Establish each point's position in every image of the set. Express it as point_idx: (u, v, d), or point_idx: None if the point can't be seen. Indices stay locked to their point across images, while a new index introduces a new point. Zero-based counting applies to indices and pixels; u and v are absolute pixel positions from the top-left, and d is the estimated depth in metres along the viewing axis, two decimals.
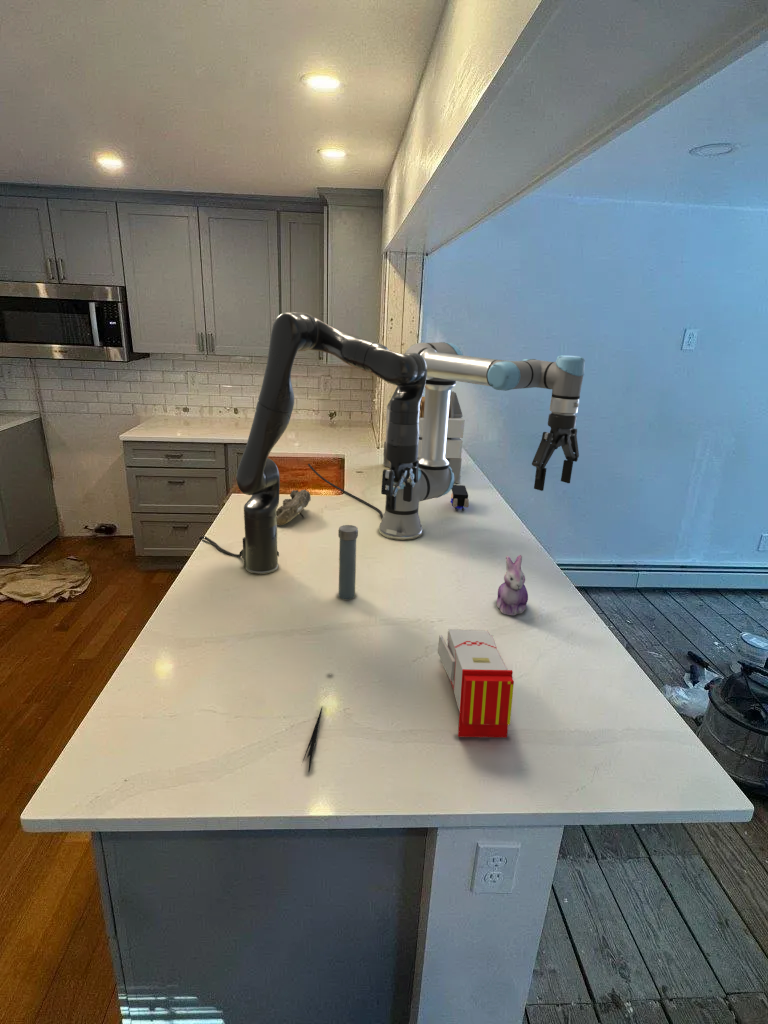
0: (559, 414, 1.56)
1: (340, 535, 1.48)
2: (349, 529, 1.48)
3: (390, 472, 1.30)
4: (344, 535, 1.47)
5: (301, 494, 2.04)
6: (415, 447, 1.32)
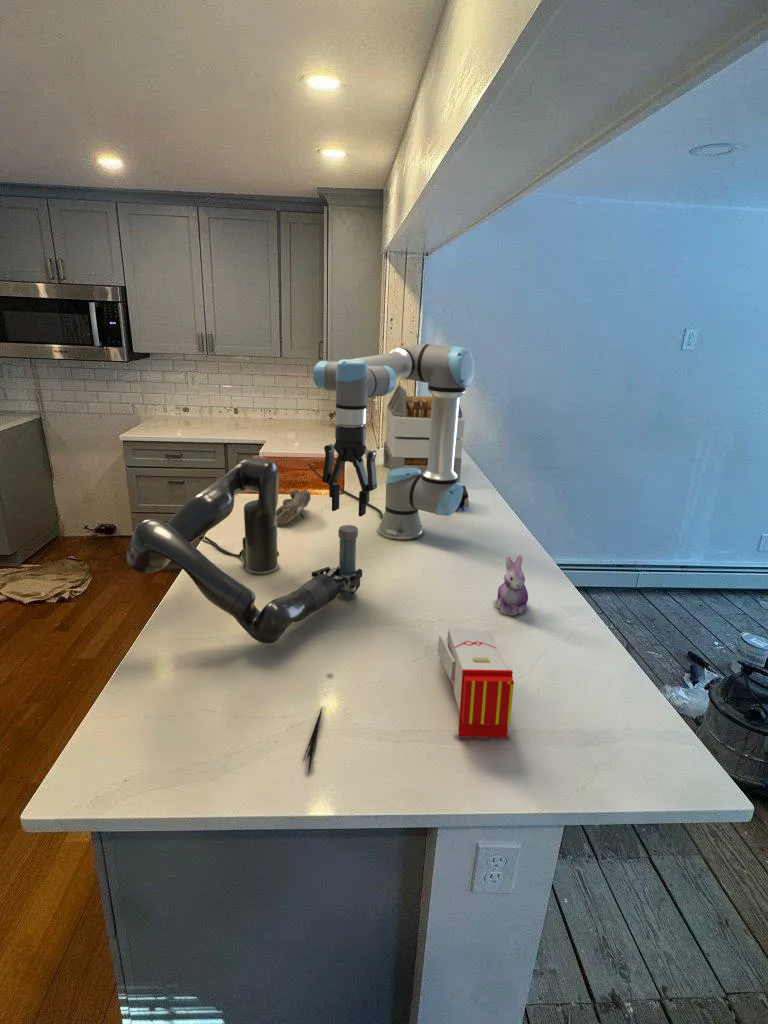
0: (363, 425, 1.39)
1: (340, 535, 1.48)
2: (349, 529, 1.48)
3: (354, 587, 1.44)
4: (344, 535, 1.47)
5: (301, 494, 2.04)
6: (319, 579, 1.41)
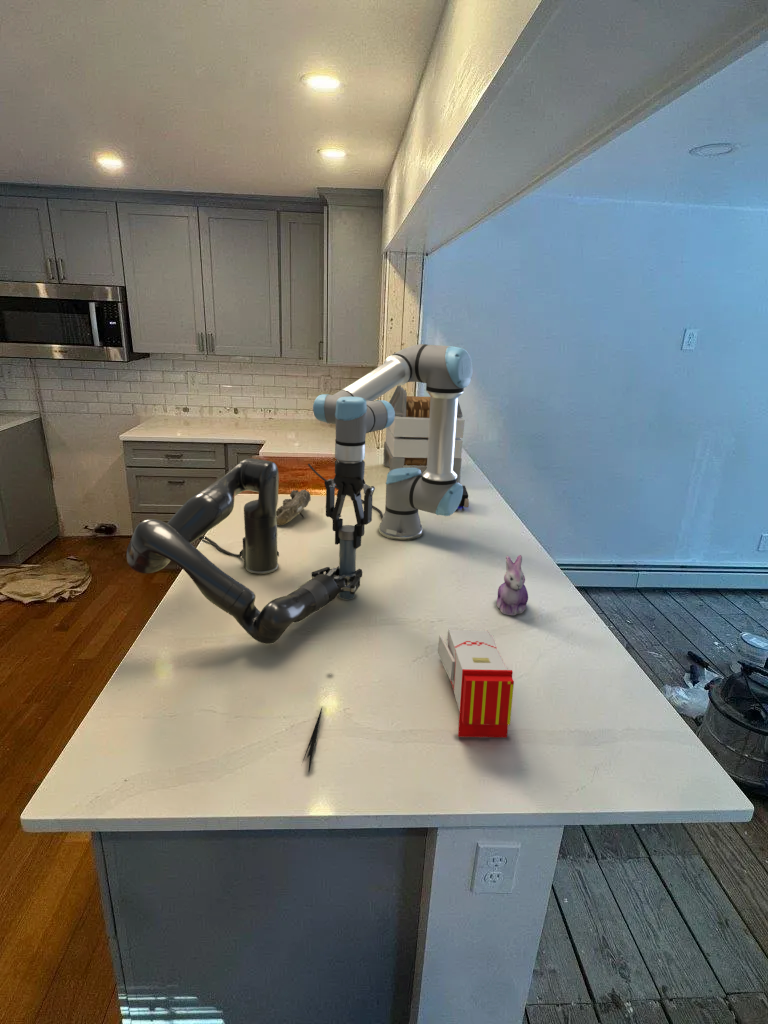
0: (362, 460, 1.42)
1: (340, 535, 1.48)
2: (349, 529, 1.48)
3: (354, 587, 1.44)
4: (344, 535, 1.47)
5: (301, 494, 2.04)
6: (319, 580, 1.41)
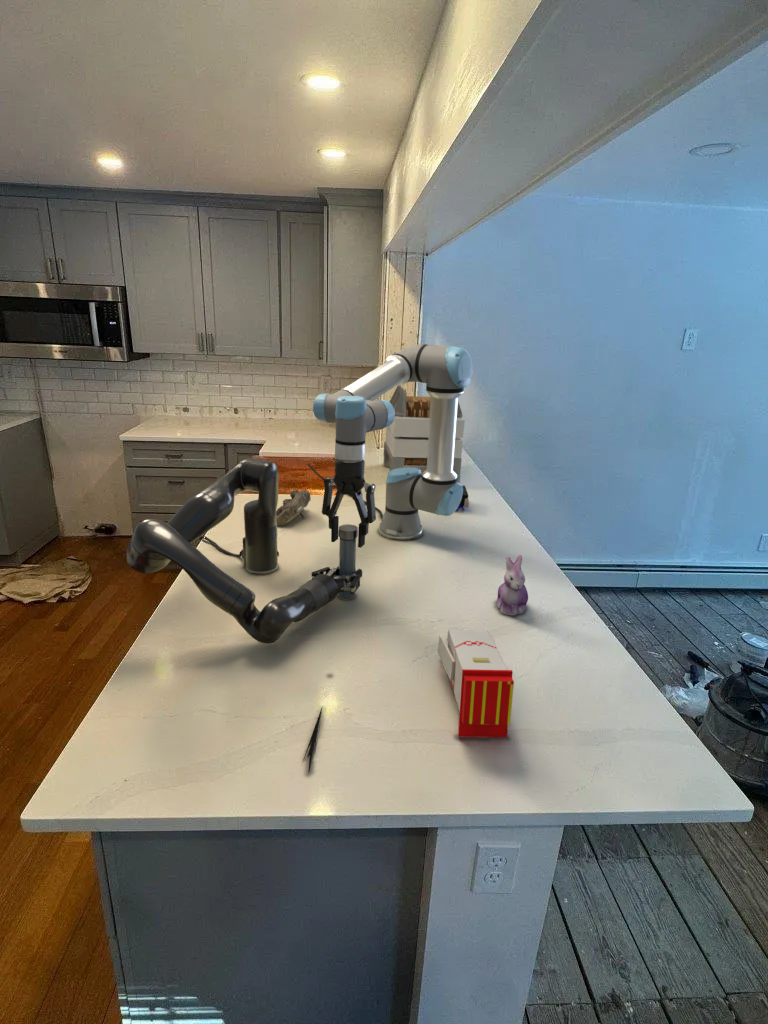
0: (362, 460, 1.42)
1: (351, 536, 1.47)
2: (351, 527, 1.49)
3: (353, 587, 1.44)
4: (355, 534, 1.48)
5: (301, 494, 2.04)
6: (319, 580, 1.41)
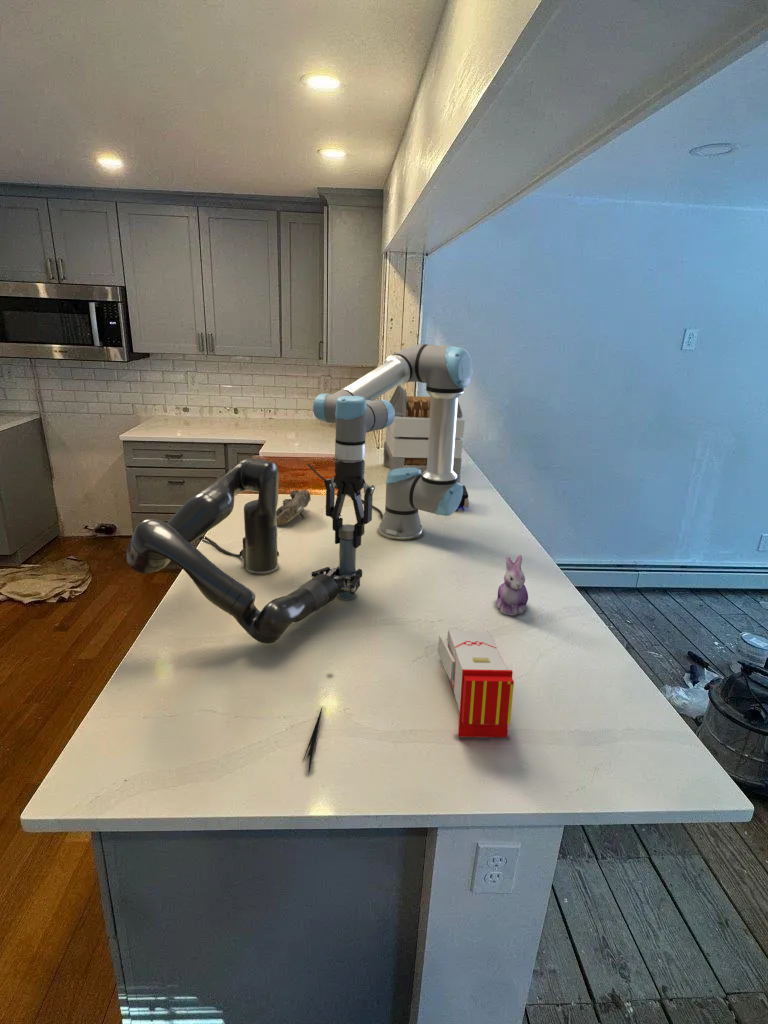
0: (362, 460, 1.42)
1: (351, 536, 1.47)
2: (351, 527, 1.49)
3: (353, 587, 1.44)
4: None
5: (301, 494, 2.04)
6: (319, 580, 1.41)
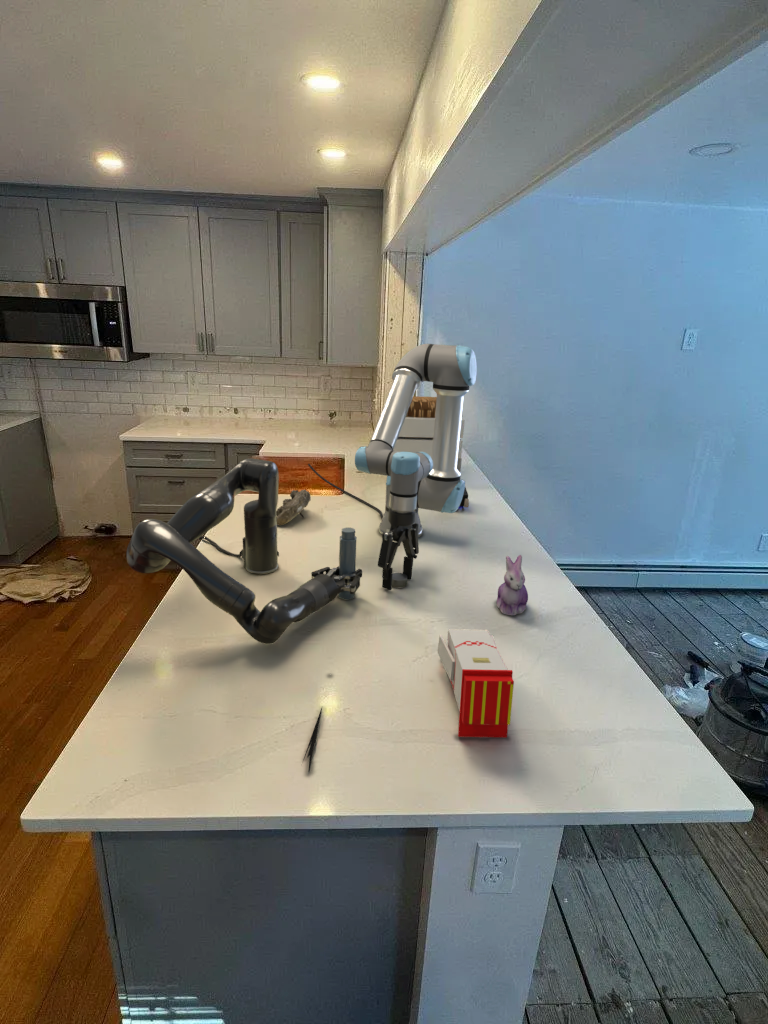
0: None
1: None
2: (398, 575, 1.64)
3: (353, 587, 1.44)
4: None
5: (301, 494, 2.04)
6: (319, 579, 1.41)
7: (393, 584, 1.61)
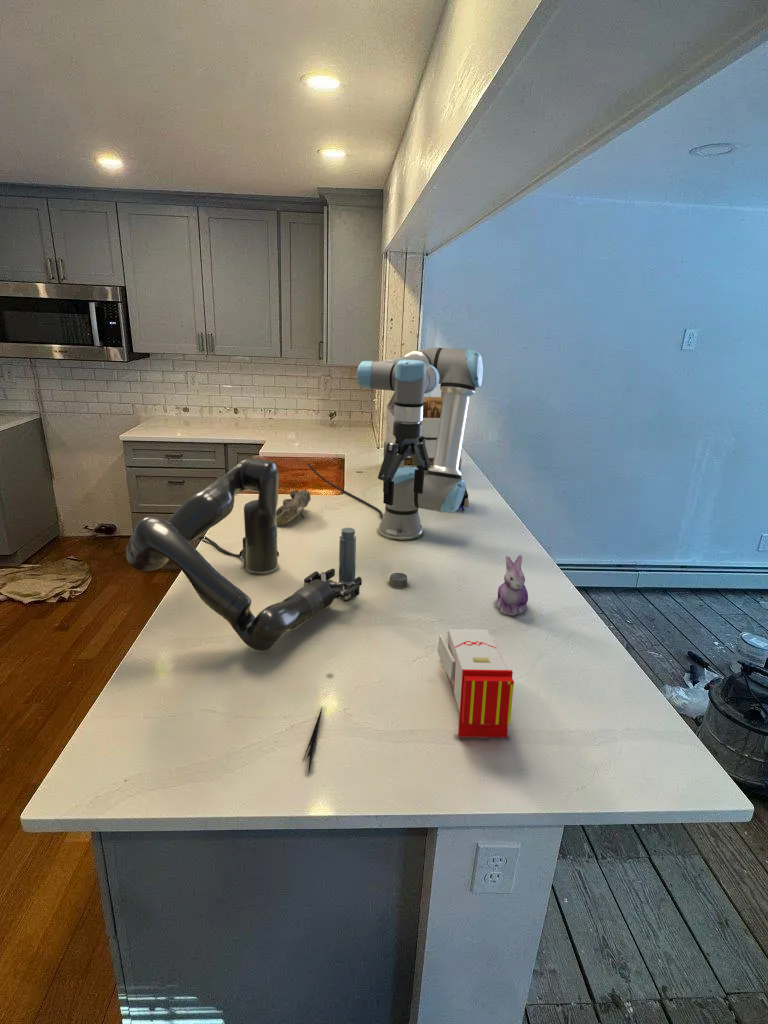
0: None
1: None
2: (398, 575, 1.64)
3: (347, 595, 1.42)
4: None
5: (301, 494, 2.04)
6: (314, 585, 1.39)
7: (393, 584, 1.61)
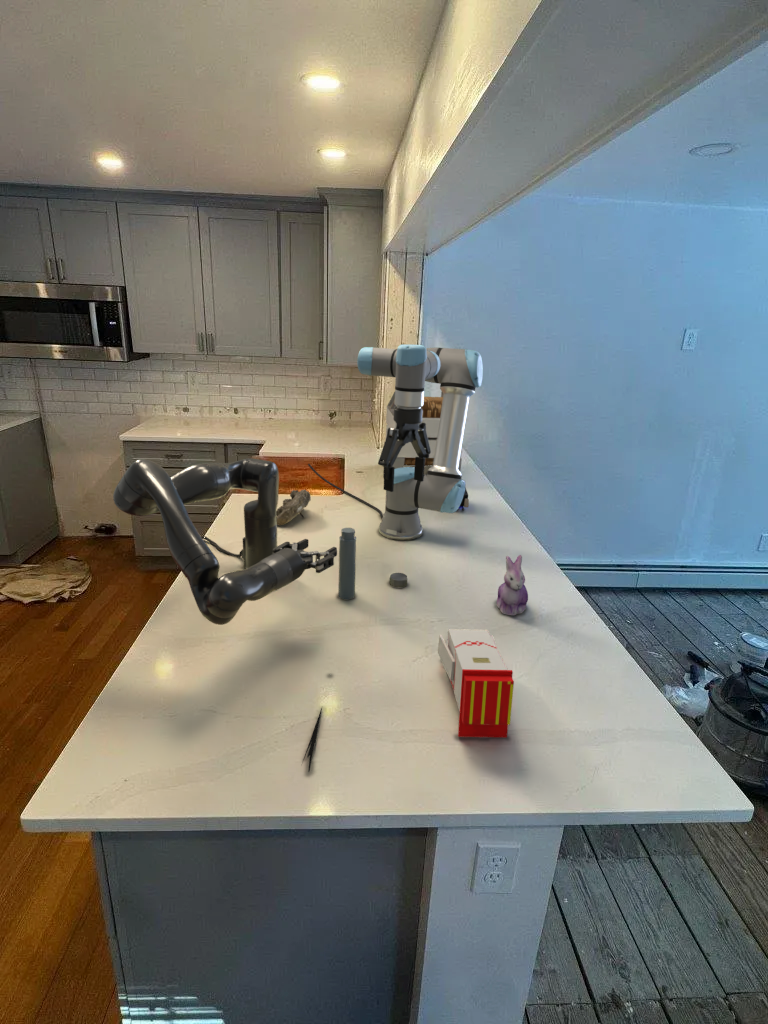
0: None
1: None
2: (398, 575, 1.64)
3: (319, 564, 1.28)
4: None
5: (301, 494, 2.04)
6: (282, 554, 1.25)
7: (393, 584, 1.61)
